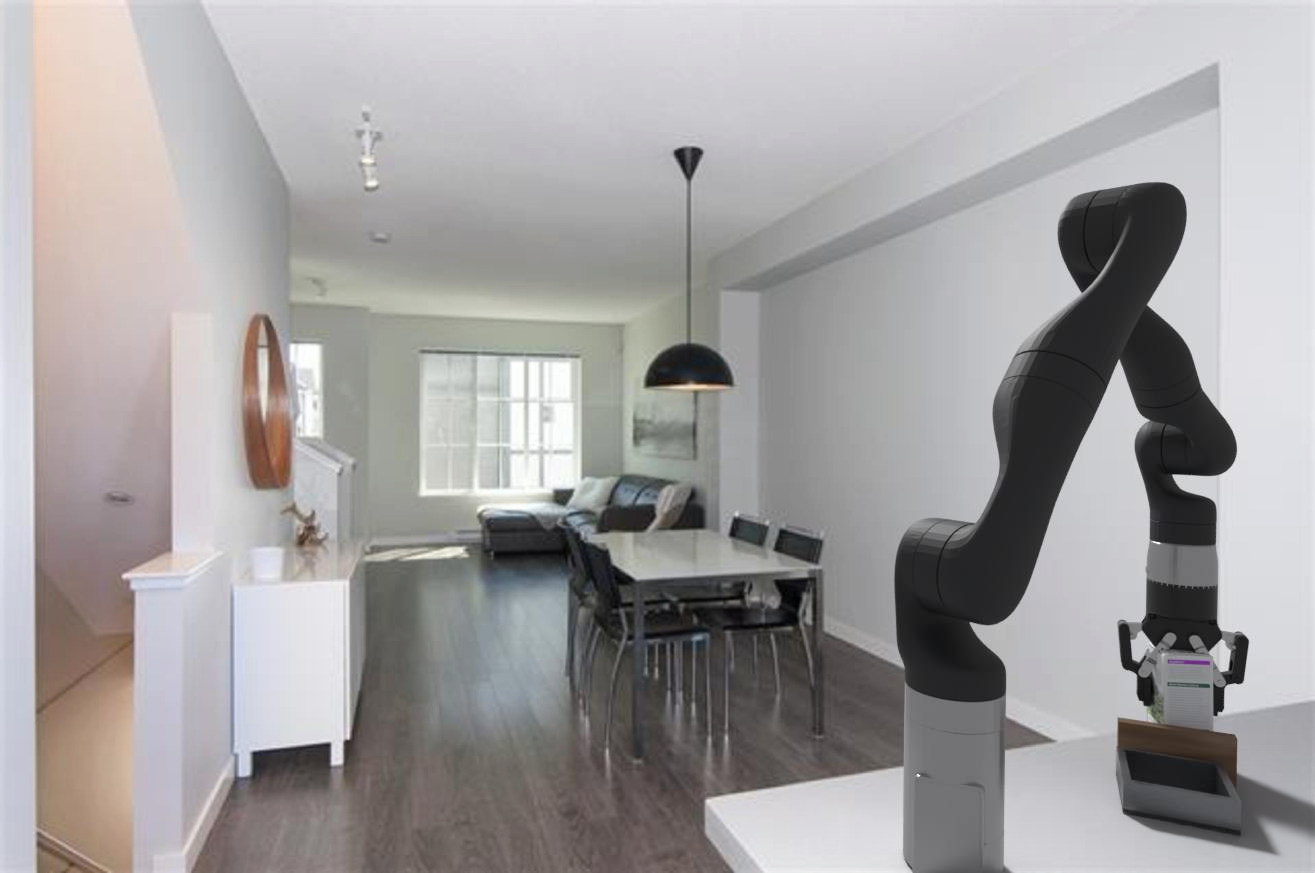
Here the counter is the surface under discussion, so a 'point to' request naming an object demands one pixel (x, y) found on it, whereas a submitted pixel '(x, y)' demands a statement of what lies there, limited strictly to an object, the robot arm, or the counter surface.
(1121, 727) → the door edge slab
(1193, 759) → the keeper pocket
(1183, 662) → the syrup box
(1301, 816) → the counter surface
